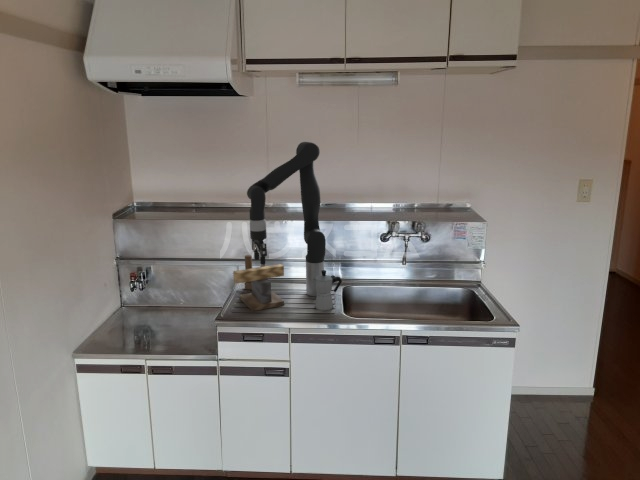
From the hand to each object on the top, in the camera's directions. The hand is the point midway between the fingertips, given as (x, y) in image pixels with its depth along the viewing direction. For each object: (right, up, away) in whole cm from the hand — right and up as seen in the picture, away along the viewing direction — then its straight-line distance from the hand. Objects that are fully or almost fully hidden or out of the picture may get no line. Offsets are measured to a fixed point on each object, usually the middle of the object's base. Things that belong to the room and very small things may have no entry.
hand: (259, 262), depth 231 cm
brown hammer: (-5, -15, +22) cm, 27 cm away
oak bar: (0, -8, +2) cm, 8 cm away
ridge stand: (0, -20, +5) cm, 20 cm away
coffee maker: (+32, -21, -2) cm, 38 cm away
